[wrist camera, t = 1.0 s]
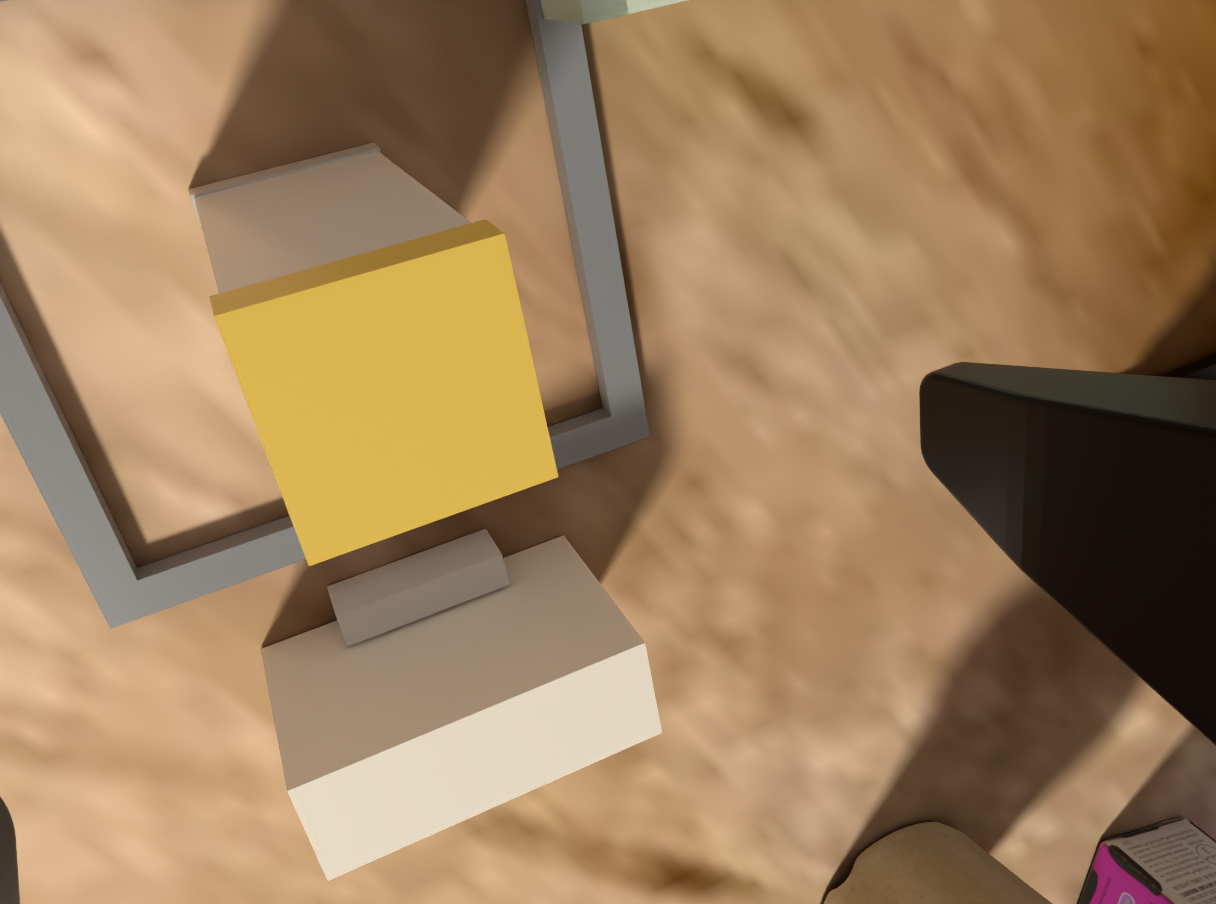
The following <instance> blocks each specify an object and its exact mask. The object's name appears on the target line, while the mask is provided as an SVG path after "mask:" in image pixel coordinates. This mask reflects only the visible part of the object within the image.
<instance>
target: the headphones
mask: <svg viewBox="0 0 1216 904" xmlns="http://www.w3.org/2000/svg"><path fill="white" fill-rule="evenodd" d="M0 1H5V0H0ZM526 5H527V10H528V16H529V21H530V26H531V31H532V37H533V42H534V47H535V53H536V58H537V63H538V69H539V74H540V79H541V84H542V90H543V95H544V100H545V106H546V111H547V116H548V121H549V127H550V132H551V137H552V143H553V148H554V153H555V158H556V164H557V169H558V174H559V180H560V185H561V190H562V195H563V201H564V206H565V211H566V217H567V222H568V227H569V232H570V238H571V243H572V248H573V254H574V259H575V264H576V269H577V275H578V280H579V285H580V291H581V296H582V301H583V306H584V312H585V317H586V322H587V328H588V333H589V338H590V343H591V349H592V354H593V359H594V365H595V370H596V375H597V380H598V386H599V391H600V396H601V402H602V407H603V408H601V409H598V410H596V411H593V412H590V413H587V414H584V415H581V416H578V417H575V418H572V419H569V420H566V421H564V422H561V423H558V424H555V425H552V426H549V427H548V432H549V436H550V441H551V445H552V450H553V454H554V459H555V464H556V468H557V469H560V468H563V467H566V466H568V465H571V464H574V463H577V462H580V461H583V460H585V459H588V458H591V457H594V456H597V455H599V454H602V453H605V452H608V451H611V450H613V449H616V448H619V447H622V446H625V445H627V444H630V443H633V442H636V441H639V440H641V439H644V438H647V437H650V434H649V428H648V422H647V416H646V410H645V404H644V398H643V392H642V386H641V380H640V374H639V368H638V362H637V356H636V350H635V344H634V338H633V332H632V326H631V320H630V314H629V308H628V302H627V296H626V290H625V284H624V278H623V272H622V266H621V260H620V254H619V248H618V242H617V236H616V230H615V224H614V218H613V212H612V206H611V200H610V194H609V188H608V182H607V176H606V170H605V164H604V158H603V152H602V146H601V140H600V134H599V128H598V122H597V116H596V110H595V104H594V98H593V92H592V86H591V80H590V74H589V68H588V62H587V56H586V50H585V44H584V38H583V32H582V26H581V24H578V23H571V22H563V21H556V20H549V19H543V15H542V9H541V4H540V0H526ZM0 414H1V416H2V418H3V420H4V422H5V424H6V426H7V428H8V430H9V432H10V434H11V435H12V437H13V439H14V441H15V443H16V445H17V447H18V449H19V451H20V453H21V455H22V457H23V459H24V461H25V463H26V465H27V467H28V469H29V471H30V473H31V475H32V476H33V478H34V480H35V482H36V484H37V486H38V488H39V490H40V492H41V494H42V496H43V498H44V500H45V502H46V504H47V506H48V508H49V510H50V512H51V514H52V515H53V517H54V519H55V521H56V523H57V525H58V527H59V529H60V531H61V533H62V535H63V537H64V539H65V541H66V543H67V545H68V547H69V549H70V551H71V553H72V554H73V556H74V558H75V560H76V562H77V564H78V566H79V568H80V570H81V572H82V574H83V576H84V578H85V580H86V582H87V584H88V586H89V588H90V590H91V592H92V594H93V595H94V597H95V599H96V601H97V603H98V605H99V607H100V609H101V611H102V613H103V615H104V617H105V619H106V621H107V623H108V625H109V627H110V629H111V628H113V627H116V626H119V625H122V624H125V623H128V622H130V621H133V620H136V619H139V618H142V617H144V616H147V615H150V614H153V613H156V612H158V611H161V610H164V609H167V608H170V607H172V606H175V605H178V604H181V603H184V602H186V601H189V600H192V599H195V598H198V597H201V596H203V595H206V594H209V593H212V592H215V591H217V590H220V589H223V588H226V587H229V586H231V585H234V584H237V583H240V582H243V581H245V580H248V579H251V578H254V577H257V576H260V575H262V574H265V573H268V572H271V571H274V570H276V569H279V568H282V567H285V566H288V565H290V564H293V563H296V562H299V561H302V560H304V559H306V558H305V555H304V552H303V550H302V547H301V544H300V542H299V539H298V536H297V534H296V531H295V529H294V526H293V523H292V521H291V518H290V516H287V517H284V518H281V519H278V520H275V521H272V522H269V523H266V524H263V525H260V526H258V527H255V528H252V529H249V530H246V531H243V532H240V533H237V534H234V535H231V536H228V537H225V538H223V539H220V540H217V541H214V542H211V543H208V544H205V545H202V546H199V547H196V548H193V549H191V550H188V551H185V552H182V553H179V554H176V555H173V556H170V557H167V558H164V559H161V560H158V561H156V562H153V563H150V564H147V565H144V566H141V567H138V568H137V567H136V565H135V562H134V560H133V558H132V556H131V554H130V552H129V550H128V548H127V546H126V544H125V542H124V540H123V537H122V535H121V533H120V531H119V529H118V527H117V525H116V523H115V521H114V519H113V517H112V514H111V512H110V510H109V508H108V506H107V504H106V502H105V500H104V498H103V496H102V494H101V491H100V489H99V487H98V485H97V483H96V481H95V479H94V477H93V475H92V473H91V471H90V469H89V466H88V464H87V462H86V460H85V458H84V456H83V454H82V452H81V450H80V448H79V446H78V443H77V441H76V439H75V437H74V435H73V433H72V431H71V429H70V427H69V425H68V423H67V420H66V418H65V416H64V414H63V412H62V410H61V408H60V406H59V404H58V402H57V400H56V398H55V395H54V393H53V391H52V389H51V387H50V385H49V383H48V381H47V379H46V377H45V375H44V372H43V370H42V368H41V366H40V364H39V362H38V360H37V358H36V356H35V354H34V352H33V349H32V347H31V345H30V343H29V341H28V339H27V337H26V335H25V333H24V331H23V329H22V327H21V324H20V322H19V320H18V318H17V316H16V314H15V312H14V310H13V308H12V306H11V304H10V301H9V299H8V297H7V295H6V293H5V291H4V289H3V287H2V285H1V283H0ZM327 589H328V593H329V596H330V599H331V602H332V605H333V609H334V612H335V615H336V618H337V621H334V622H331V623H329V624H326V625H323V626H321V627H318V628H315V629H313V630H310V631H307V632H305V633H302V634H299V635H297V636H294V637H291V638H289V639H286V640H283V641H281V642H278V643H275V644H273V645H270V646H267V647H265V648H262V649H261V654H262V659H263V664H264V669H265V675H266V680H267V685H268V691H269V696H270V701H271V707H272V712H273V717H274V723H275V728H276V733H277V739H278V744H279V749H280V754H281V760H282V765H283V770H284V776H285V781H286V786H287V791H288V794H289V796H290V798H291V800H292V802H293V805H294V807H295V809H296V811H297V814H298V816H299V818H300V820H301V822H302V825H303V827H304V829H305V831H306V834H307V836H308V838H309V840H310V842H311V845H312V847H313V849H314V851H315V854H316V856H317V858H318V860H319V862H320V865H321V867H322V869H323V871H324V874H325V876H326V878H327V880H328V881H329V880H331V879H333V878H335V877H338V876H340V875H342V874H344V873H347V872H349V871H351V870H353V869H356V868H358V867H360V866H362V865H365V864H367V863H369V862H371V861H374V860H376V859H378V858H380V857H383V856H385V855H387V854H389V853H392V852H394V851H396V850H398V849H401V848H403V847H405V846H408V845H410V844H412V843H414V842H417V841H419V840H421V839H423V838H426V837H428V836H430V835H432V834H435V833H437V832H439V831H441V830H444V829H446V828H448V827H450V826H453V825H455V824H457V823H459V822H462V821H464V820H466V819H468V818H471V817H473V816H475V815H477V814H480V813H482V812H484V811H487V810H489V809H491V808H493V807H496V806H498V805H500V804H502V803H505V802H507V801H509V800H511V799H514V798H516V797H518V796H520V795H523V794H525V793H527V792H529V791H532V790H534V789H536V788H538V787H541V786H543V785H545V784H547V783H550V782H552V781H554V780H557V779H559V778H561V777H563V776H566V775H568V774H570V773H572V772H575V771H577V770H579V769H581V768H584V767H586V766H588V765H590V764H593V763H595V762H597V761H599V760H602V759H604V758H606V757H608V756H611V755H613V754H615V753H617V752H620V751H622V750H624V749H626V748H629V747H631V746H633V745H636V744H638V743H640V742H642V741H645V740H647V739H649V738H651V737H654V736H656V735H658V734H660V733H662V730H661V725H660V719H659V714H658V709H657V704H656V698H655V693H654V688H653V683H652V677H651V672H650V667H649V662H648V656H647V651H646V646H645V642H644V641H643V640H642V638H641V637H640V636H639V634H638V633H637V632H636V630H635V629H634V628H633V626H632V625H631V624H630V622H629V621H628V620H627V618H626V617H625V616H624V614H623V613H622V612H621V610H620V609H619V608H618V606H617V605H616V604H615V603H614V601H613V600H612V599H611V597H610V596H609V595H608V593H607V592H606V591H605V589H604V588H603V587H602V585H601V584H600V583H599V581H598V580H597V579H596V577H595V576H594V575H593V573H592V572H591V571H590V569H589V568H588V567H587V565H586V564H585V563H584V561H583V560H582V559H581V557H580V556H579V555H578V553H577V552H576V551H575V550H574V548H573V547H572V546H571V544H570V543H569V542H568V540H567V539H566V538H565V536H564V535H563V536H561V537H558V538H555V539H553V540H550V541H547V542H545V543H542V544H539V545H537V546H534V547H531V548H529V549H526V550H523V551H521V552H518V553H515V554H513V555H510V556H507V557H505V558H503V556H502V554H501V552H500V550H499V549H498V547H497V546H496V544H495V542H494V541H493V539H492V538H491V536H490V534H489V533H488V531H487V530H486V529H483V530H480V531H477V532H475V533H472V534H469V535H466V536H464V537H461V538H458V539H456V540H453V541H450V542H447V543H445V544H442V545H439V546H436V547H434V548H431V549H428V550H425V551H423V552H420V553H417V554H414V555H412V556H409V557H406V558H404V559H401V560H398V561H395V562H393V563H390V564H387V565H384V566H382V567H379V568H376V569H373V570H371V571H368V572H365V573H362V574H360V575H357V576H354V577H352V578H349V579H346V580H343V581H341V582H338V583H335V584H332V585H330V586H327Z"/></svg>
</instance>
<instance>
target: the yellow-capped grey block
mask: <svg viewBox="0 0 1216 904" xmlns="http://www.w3.org/2000/svg"><path fill="white" fill-rule="evenodd" d="M188 190H189V194H190V197H191V200H192V202H193V205H194V208H195V211H196V213H197V216H198V219H199V221H200V224H201V227H202V230H203V234H204V238H205V242H206V245H207V249H208V253H209V257H210V261H211V265H212V268H213V272H214V276H215V280H216V284H217V287H218V291H219V294H216V295H213V296H210V300H211V305H212V309H213V313H214V317H215V320H216V322H217V325H218V328H219V330H220V333H221V336H222V338H223V341H224V343H225V346H226V349H227V351H228V354H229V357H230V359H231V362H232V365H233V367H234V370H235V373H236V375H237V378H238V380H239V383H240V386H241V388H242V391H243V394H244V396H245V399H246V402H247V404H248V407H249V410H250V412H251V415H252V418H253V420H254V423H255V425H256V428H257V431H258V433H259V436H260V439H261V441H262V444H263V447H264V449H265V452H266V455H267V457H268V460H269V462H270V465H271V468H272V470H273V473H274V476H275V478H276V481H277V484H278V486H279V489H280V492H281V494H282V497H283V499H284V502H285V505H286V507H287V510H288V513H289V515H290V518H291V521H292V523H293V526H294V529H295V531H296V534H297V536H298V539H299V542H300V544H301V547H302V550H303V552H304V555H305V558H306V560H307V563H308V566H311V565H314V564H317V563H320V562H323V561H325V560H328V559H331V558H334V557H336V556H339V555H342V554H345V553H348V552H350V551H353V550H356V549H359V548H362V547H364V546H367V545H370V544H373V543H376V542H378V541H381V540H384V539H387V538H390V537H392V536H395V535H398V534H401V533H404V532H406V531H409V530H412V529H415V528H418V527H420V526H423V525H426V524H429V523H432V522H434V521H437V520H440V519H443V518H445V517H448V516H451V515H454V514H457V513H459V512H462V511H465V510H468V509H471V508H473V507H476V506H479V505H482V504H485V503H487V502H490V501H493V500H496V499H499V498H501V497H504V496H507V495H510V494H513V493H515V492H518V491H521V490H524V489H527V488H529V487H532V486H535V485H538V484H541V483H543V482H546V481H549V480H552V479H554V478H557V477H558V473H557V468H556V464H555V459H554V454H553V450H552V445H551V441H550V436H549V432H548V427H547V423H546V418H545V414H544V409H543V405H542V400H541V396H540V391H539V387H538V382H537V378H536V373H535V369H534V364H533V359H532V355H531V350H530V346H529V341H528V337H527V332H526V328H525V323H524V319H523V314H522V310H521V305H520V301H519V296H518V292H517V287H516V283H515V278H514V274H513V269H512V264H511V260H510V255H509V251H508V246H507V242H506V237H505V233H504V232H502V231H501V230H499V229H498V228H497V227H495V226H494V225H493V224H491V223H490V222H488V221H487V220H486V219H484V220H481V221H477V222H474V223H471V222H470V221H468V220H467V219H466V218H464V217H463V216H462V215H461V214H459V213H458V212H457V211H455V210H454V209H453V208H451V207H450V206H449V205H448V204H446V203H445V202H444V201H442V200H441V199H440V198H438V197H437V196H436V195H434V194H433V193H432V192H431V191H429V190H428V189H427V188H425V187H424V186H423V185H421V184H420V183H419V182H418V181H416V180H415V179H414V178H412V177H411V176H410V175H408V174H407V173H406V172H405V171H403V170H402V169H401V168H399V167H398V166H397V165H395V164H394V163H393V162H392V161H390V160H389V159H388V158H386V157H385V156H384V155H382V154H381V150H380V147H379V146H377V145H376V144H374V143H369V144H365V145H361V146H357V147H353V148H349V149H345V150H341V151H337V152H333V153H329V154H325V155H322V156H318V157H314V158H310V159H306V160H302V161H298V162H294V163H290V164H286V165H282V166H278V167H274V168H270V169H266V170H262V171H258V172H254V173H250V174H246V175H242V176H238V177H234V178H230V179H226V180H222V181H218V182H214V183H210V184H206V185H202V186H198V187H194V188H190V189H188Z"/></svg>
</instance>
